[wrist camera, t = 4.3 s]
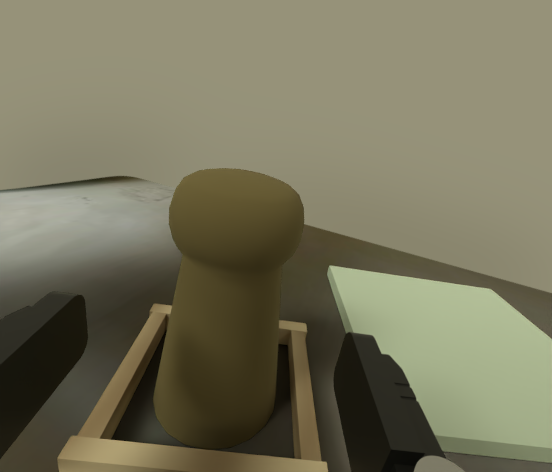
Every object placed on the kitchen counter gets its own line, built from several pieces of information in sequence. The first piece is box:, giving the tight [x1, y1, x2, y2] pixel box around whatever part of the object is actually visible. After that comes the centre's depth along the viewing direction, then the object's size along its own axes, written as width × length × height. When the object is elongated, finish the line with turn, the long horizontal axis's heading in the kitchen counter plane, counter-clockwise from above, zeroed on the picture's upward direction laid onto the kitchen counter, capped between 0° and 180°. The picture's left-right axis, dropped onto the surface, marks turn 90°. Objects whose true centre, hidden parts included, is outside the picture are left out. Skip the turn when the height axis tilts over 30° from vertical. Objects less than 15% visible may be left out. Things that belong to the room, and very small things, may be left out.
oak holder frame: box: [57, 303, 328, 472], centre depth 15 cm, size 10×9×1 cm
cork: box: [153, 168, 304, 450], centre depth 14 cm, size 6×6×11 cm
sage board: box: [327, 266, 552, 463], centre depth 22 cm, size 16×16×1 cm
